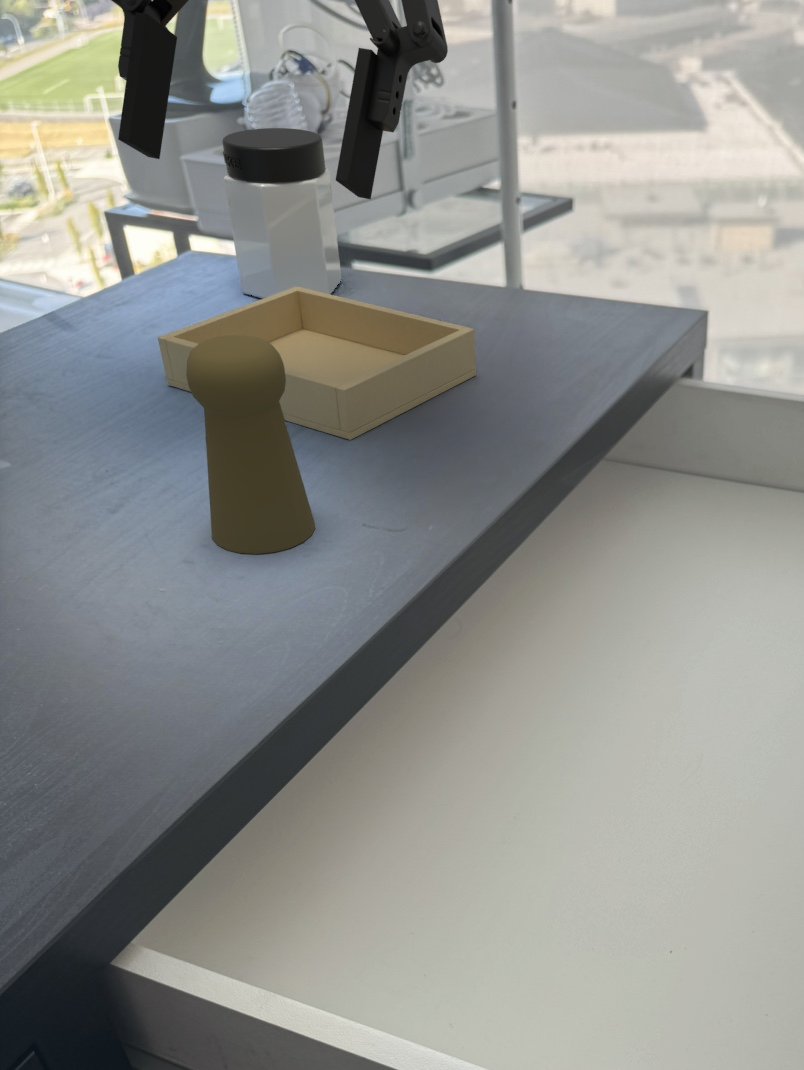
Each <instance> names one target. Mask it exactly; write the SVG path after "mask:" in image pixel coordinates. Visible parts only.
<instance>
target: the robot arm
mask: <svg viewBox="0 0 804 1070" xmlns="http://www.w3.org/2000/svg"><path fill="white" fill-rule="evenodd" d="M110 1H111V2H113V3H114V4H115V5H116V6H118V7H119V8H121V10H122V12H123V16H124V17H123V27H122V35H121V43H120V50H119V56H118V63H117V64H118V65H117V68H118V74H119V78H121V79H123V80H125V88H124V94H123V102H122V109H121V116H120V123H119V130H118V138H117V140H119V141H120V142H122V143H123V144H125V145H127V146H129V147H130V148H132V149H134V150H136V151H137V152H139V153H140V154H143V156H145V157H147V158H151V159H156V160H161V159H160V158H161V152H162V145H163V139H164V131H165V125H166V119H167V118H166V117H167V110H168V103H169V97H170V89H171V84H172V76H173V70H174V62H175V55H176V49H177V41H178V36H177V35H175V34H174V33H173V32H172V31H170V29H168V27H167V25H168V24H169V23H170V22H171V21H172V20H173V18H174V17H175V16H177V14H178V13H179V12H180V11H181V10H182V9H183V7H184V6H185V5H186V4H187V3H189V1H190V0H110ZM354 2H355V4H356V7H357V8H358V10H359V13H360V15H361V17H362V18H363V21H364V23H365V26H366V28H367V30H368V32H369V35H370V36H371V37H370V38H369V40H370V42H371V43H372V44H373V45H374V46H375V48H377V52H376V53H375V51H374V50H373V49H369V48H362V47H358V50H357V56H356V61H355V67H354V72H353V80H352V84H351V90H350V96H349V100H348V107H347V112H346V118H345V124H344V129H343V135H342V141H341V145H340V146H341V147H340V152H339V158H338V163H337V170H336V174H335V182H337V183H338V184H340V185H341V186H343V187H344V188H345V189H347V190H348V191H349V192H351V193H352V194H353V195H355V197H357V198H361V199H367V200H372V193H373V189H374V183H375V177H376V172H377V168H378V167H377V166H378V161H379V157H380V151H381V146H382V139H383V134H384V132H388V133H395V131H396V129H397V126H398V125H399V122H400V117H401V111H402V106H403V102H404V95H405V92H406V91H405V90H406V87H407V85H406V84H407V80H408V75H409V73H410V71H411V69H413V67H414V66H415V65H418V64H420V63H424V62H429V61H430V62H431V63H433V64H439V63H442V62H443V61H444V60H445V59H446V57H447V56H448V52H449V51H448V49H449V47H448V43H447V42H448V41H447V38H446V33H445V29H444V24H443V19H442V14H441V10H440V9H441V8H440V5H439V1H438V0H401V5H402V10H403V13H404V18H405V24H406V25H404V26H402V25H401V22H400V21H399V18H398V16H397V14H396V12H395V10H394V8H393V6H392V3H391V1H390V0H354Z"/></svg>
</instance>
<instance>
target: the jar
mask: <svg viewBox="0 0 804 1070" xmlns="http://www.w3.org/2000/svg"><path fill="white" fill-rule="evenodd" d="M323 145H324V144H323V138H322V136H321V135H320V134H318V133H316V132H314V131H310V130H305V129H298V128H286V127H267V128H266V127H265V128H264V127H263V128H252V129H245V130H240V131H235V132H232V133H229V134H227V135H225V136H224V137H223V138H222V149H223V151H222V155H223V160H224V164H225V167H226V173H227V174H225V176H224V177H223V183H224V190H225V195H226V196H225V197H226V202H227V208H228V214H229V222H230V227H231V233H232V239H233V245H234V250H235V256H236V257H235V258H236V263H237V264H236V265H237V270H238V276H239V279H240V280H239V283H240V287H241V292H242V293H243V294H244V293H245V294H244V295H248V296H251V295H252V297H254V298H258V299H264V298H266V297H269V296H272V295H275V294H277V293H280V292H283V291H286V290H288V289H291V288H294V287H296V286H298V287H302V288H306V289H310V290H314V291H318V292H322V293H327V294H331V295H332V294H333V292H334V291H335V290H336V289H337V288H338V286H339V285H340V284H339V282H340V280H341V279H342V271H341V263H340V253H339V246H338V235H337V227H336V216H335V208H334V198H333V189H332V179H331V172H330V169H329V168H328V167H326V160H325V152H324V146H323ZM341 281H342V280H341ZM338 284H339V285H338ZM337 285H338V286H337ZM335 288H336V289H335ZM334 289H335V290H334Z"/></svg>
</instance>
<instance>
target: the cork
mask: <svg viewBox="0 0 804 1070" xmlns="http://www.w3.org/2000/svg"><path fill="white" fill-rule="evenodd" d="M186 376H187V381H188V386H189V388H190V390H191V392H190V393H191V395H192V397H193V399H195V400H196V402H197V403H199V404H200V406H201V407H203V415H204V416H203V417H204V432H205V446H206V447H205V448H206V449H205V450H206V461H207V462H206V464H207V465H206V466H207V477H208V478H207V481H208V482H207V483H208V497H209V512H210V513H209V515H210V531H211V539H212V540H213V542H214V543H215V544H216V545H217V546H218V547H220V548H222V549H224V550H226V551H230V552H234V553H239V554H249V555H250V554H252V555H253V554H254V555H260V554H271V553H276V552H277V553H278V552H281V551H285V550H288V549H292V548H294V547H296V546H298V545H301V544H302V543H304V542H305V541H307V540H308V539H309V538H310V537H311V536H312V535H313V533H314V531H315V529H316V524H315V519H314V515H313V512H312V508H311V505H310V502H309V498H308V494H307V491H306V488H305V485H304V482H303V478H302V475H301V471H300V468H299V464H298V461H297V457H296V454H295V450H294V448H293V443H292V441H291V440H292V439H291V437H290V432H289V430H288V426H287V423H286V420H285V419H284V416H283V412H282V409H281V405H280V402H279V400H280V399H281V397H282V395H283V393H284V391H285V383H286V377H285V369H284V364H283V361H282V359H281V356H280V354H279V353H278V351H277V350H276V349H275V348H274V346H273V345H271V344H270V343H269V342H267V341H265V340H263V339H260V338H257V337H253V336H247V335H230V336H221V337H215V338H212V339H209V340H206V341H204V342H202V343H200V344H198V345H197V346H196V347H194V348H193V349H192V351H191V352H190V354H189V357H188V359H187V371H186Z"/></svg>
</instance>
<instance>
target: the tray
mask: <svg viewBox="0 0 804 1070" xmlns="http://www.w3.org/2000/svg"><path fill="white" fill-rule="evenodd" d="M230 335H247V336H253V337H257V338H260V339H263V340H265V341H267V342H269V343H270V344H271V345H273V346H274V348H275V349H276V350H277V351H278V353H279V354H280V356H281V359H282V361H283V364H284V369H285V377H286V383H285V391H284V393H283V395H282V397H281V399H280V400H279V402H280V405H281V409H282V412H283V416H284V419H285V422H289V423H292V424H295V425H299V426H302V427H306V428H308V429H309V428H310V429H313V430H316V431H318V432H323V433H326V434H329V435H333V436H334V437H335V436H336V437H339V438H343V439H346V440H349V441H351V440H353V439H355V438H357V437H359V436H361V435H363V434H365V433H367V432H368V431H371V430H372V429H375V428H376V427H378V426H380V425H382V424H384V423H386V422H389V421H390V420H392V419H394V418H396V417H398V416H400V415H402V414H404V413H406V412H408V411H409V410H411V409H414V408H415V407H418V406H419V405H421V404H424V403H426V402H427V401H429V400H431V399H433V398H435V397H437V396H438V395H440V394H442V393H444V392H447V391H449V390H450V389H452V388H454V387H456V386H458V385H460V384H462V383H464V382H466V381H467V380H470V379H472V378H473V377H475V376H477V369H476V368H477V366H476V344H475V343H476V341H475V329H474V328H471V327H468V326H465V325H460V324H455V323H451V322H447V321H443V320H439V319H436V318H435V319H434V318H431V317H426V316H423V315H417V314H414V313H410V312H406V311H401V310H397V309H393V308H389V307H386V306H385V307H384V306H380V305H377V304H372V303H367V302H364V301H359V300H355V299H353V298H352V299H351V298H347V297H343V296H340V295H339V296H338V295H334V294H332V293H331V294H327V293H322V292H318V291H314V290H310V289H306V288H302V287H298V286H296V287H294V288H291V289H288V290H286V291H283V292H280V293H277V294H275V295H272V296H269V297H266V298H264V299H262V298H260V299H259V300H256V301H252V302H250V303H248V304H244V305H242V306H239V307H237V308H234V309H231V310H228V311H226V312H223V313H221V314H218V315H214V316H211V317H209V318H206V319H204V320H201V321H198V322H196V323H192V324H190V325H188V326H184V327H181V328H179V329H177V330H174V331H171V332H168V333H165V334H162V335H160V336H158V337H157V342H158V347H159V352H160V355H161V357H160V358H161V361H162V365H163V371H164V375H165V379H166V384H167V386H169V387H174V388H177V389H180V390H183V391H186V392H190V393H191V390H190V388H189V386H188V381H187V376H186V371H187V359H188V357H189V354H190V352H191V351H192V349H193V348H194V347H196V346H197V345H198V344H200V343H202V342H204V341H206V340H209V339H212V338H215V337H221V336H230Z"/></svg>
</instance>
